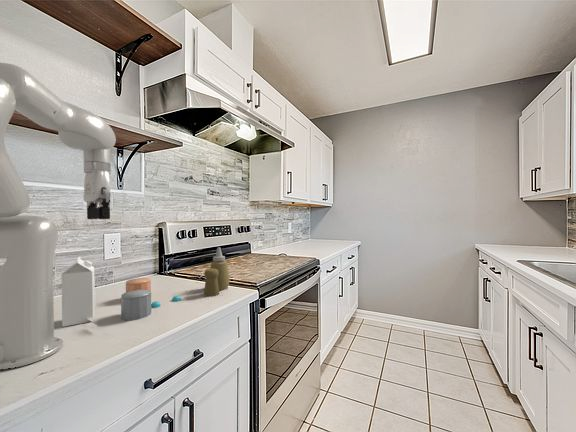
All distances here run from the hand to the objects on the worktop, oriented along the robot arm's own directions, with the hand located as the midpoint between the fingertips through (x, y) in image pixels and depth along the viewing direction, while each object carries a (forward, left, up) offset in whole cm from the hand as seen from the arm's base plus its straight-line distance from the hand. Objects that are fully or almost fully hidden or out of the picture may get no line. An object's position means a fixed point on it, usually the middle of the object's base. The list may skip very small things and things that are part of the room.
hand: (98, 219), depth 91 cm
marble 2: (+17, -19, -29) cm, 38 cm away
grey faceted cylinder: (+2, -22, -30) cm, 37 cm away
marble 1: (+9, -19, -29) cm, 36 cm away
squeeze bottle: (+35, -20, -31) cm, 51 cm away
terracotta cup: (+10, -6, -30) cm, 32 cm away
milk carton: (-8, -8, -31) cm, 33 cm away
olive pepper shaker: (+28, -24, -31) cm, 48 cm away
